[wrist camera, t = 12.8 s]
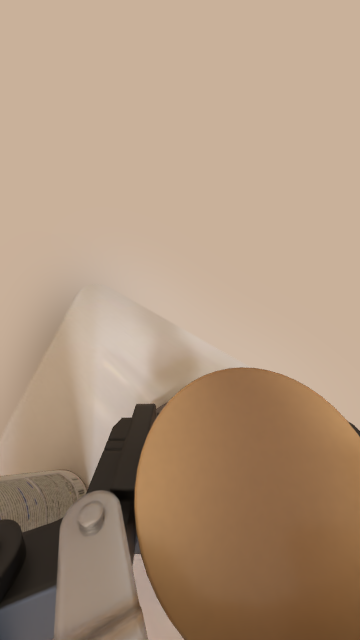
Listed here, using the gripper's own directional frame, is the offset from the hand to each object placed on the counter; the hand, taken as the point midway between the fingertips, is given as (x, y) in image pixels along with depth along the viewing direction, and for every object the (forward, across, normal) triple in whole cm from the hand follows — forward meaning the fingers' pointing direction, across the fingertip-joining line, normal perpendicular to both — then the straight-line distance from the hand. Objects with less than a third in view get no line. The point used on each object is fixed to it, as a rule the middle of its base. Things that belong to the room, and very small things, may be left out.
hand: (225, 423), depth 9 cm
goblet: (+5, 0, +8) cm, 9 cm away
